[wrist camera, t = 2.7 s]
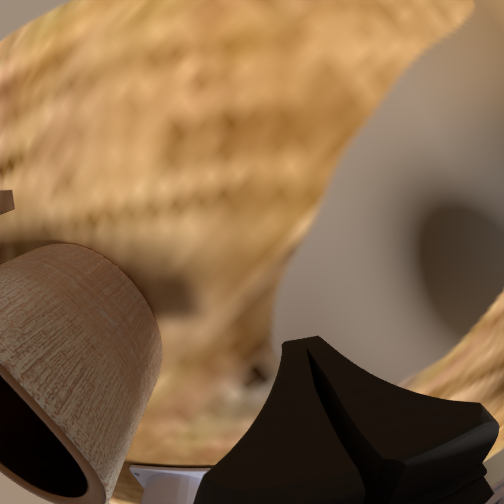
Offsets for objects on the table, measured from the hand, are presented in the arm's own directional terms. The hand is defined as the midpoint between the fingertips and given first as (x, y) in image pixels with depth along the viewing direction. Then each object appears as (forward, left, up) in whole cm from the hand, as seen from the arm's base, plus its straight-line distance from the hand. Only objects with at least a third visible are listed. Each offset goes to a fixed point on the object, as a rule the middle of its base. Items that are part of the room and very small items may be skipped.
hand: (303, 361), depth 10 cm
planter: (0, +12, -5) cm, 13 cm away
